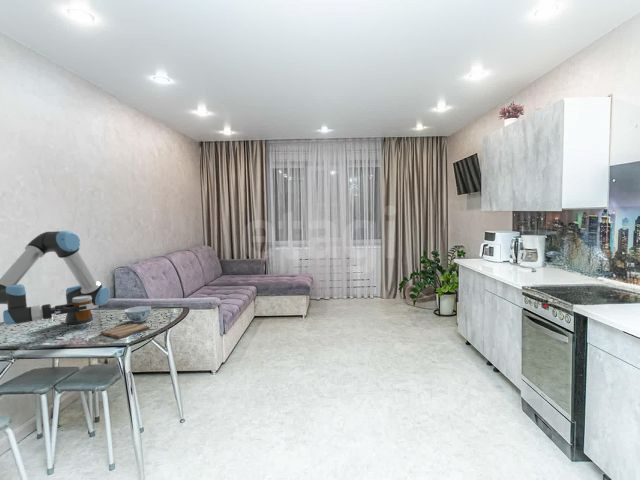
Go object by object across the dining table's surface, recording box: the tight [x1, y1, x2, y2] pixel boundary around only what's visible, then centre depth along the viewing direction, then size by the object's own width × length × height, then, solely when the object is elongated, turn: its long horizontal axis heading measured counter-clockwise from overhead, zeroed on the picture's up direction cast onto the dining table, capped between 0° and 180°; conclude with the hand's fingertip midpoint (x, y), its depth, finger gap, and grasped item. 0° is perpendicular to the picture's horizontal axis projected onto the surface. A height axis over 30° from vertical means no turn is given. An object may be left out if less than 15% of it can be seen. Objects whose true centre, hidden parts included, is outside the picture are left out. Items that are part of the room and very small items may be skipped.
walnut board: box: [100, 322, 150, 339], centre depth 220 cm, size 18×18×2 cm
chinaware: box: [124, 305, 152, 324], centre depth 242 cm, size 15×15×8 cm
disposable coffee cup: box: [72, 295, 92, 320], centre depth 210 cm, size 10×10×12 cm
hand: (92, 304), depth 213 cm, fingers closed on disposable coffee cup, 8 cm apart
